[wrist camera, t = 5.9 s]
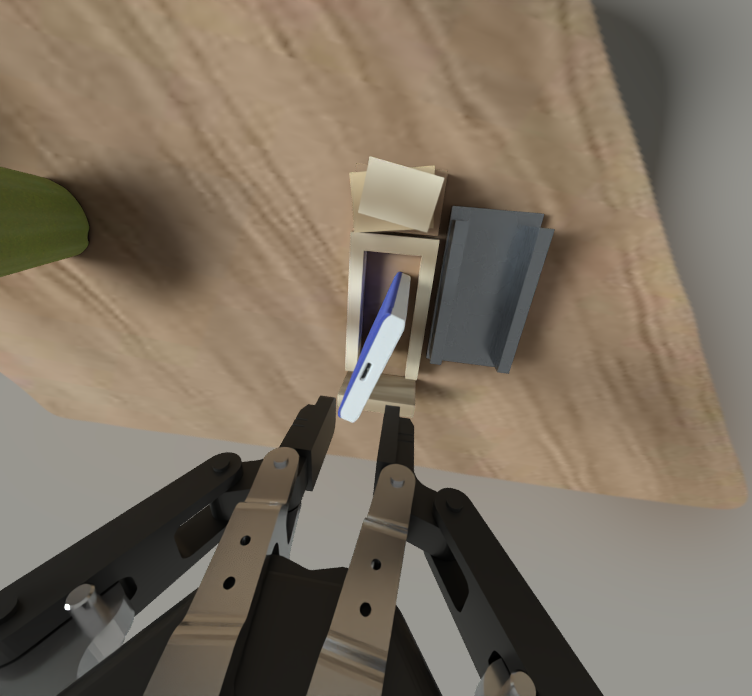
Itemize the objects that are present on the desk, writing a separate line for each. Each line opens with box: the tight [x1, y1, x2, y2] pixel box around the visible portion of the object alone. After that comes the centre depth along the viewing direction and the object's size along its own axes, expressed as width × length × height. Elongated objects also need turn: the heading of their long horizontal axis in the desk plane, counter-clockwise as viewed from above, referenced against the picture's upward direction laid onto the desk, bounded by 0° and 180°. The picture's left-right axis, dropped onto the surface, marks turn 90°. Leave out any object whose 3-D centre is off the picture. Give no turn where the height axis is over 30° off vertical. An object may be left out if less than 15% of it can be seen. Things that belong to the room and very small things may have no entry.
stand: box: [426, 206, 555, 374], centre depth 26 cm, size 14×7×4 cm, turn 175°
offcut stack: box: [349, 156, 448, 236], centre depth 22 cm, size 5×7×6 cm
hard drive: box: [338, 272, 411, 423], centre depth 24 cm, size 2×8×12 cm, turn 156°
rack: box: [337, 231, 440, 418], centre depth 27 cm, size 16×7×5 cm, turn 175°
